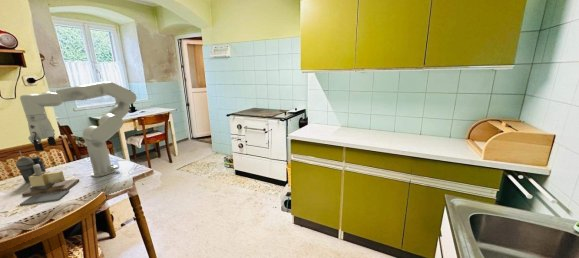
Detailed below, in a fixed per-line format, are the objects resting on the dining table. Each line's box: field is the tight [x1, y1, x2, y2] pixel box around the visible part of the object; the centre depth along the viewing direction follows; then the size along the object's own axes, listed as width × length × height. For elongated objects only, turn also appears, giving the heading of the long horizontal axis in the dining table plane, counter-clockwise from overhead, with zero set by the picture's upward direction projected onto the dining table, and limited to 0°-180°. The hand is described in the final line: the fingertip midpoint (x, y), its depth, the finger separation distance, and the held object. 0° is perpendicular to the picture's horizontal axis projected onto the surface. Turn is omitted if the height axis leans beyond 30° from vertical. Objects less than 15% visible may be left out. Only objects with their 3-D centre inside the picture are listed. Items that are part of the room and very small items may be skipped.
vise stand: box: [21, 164, 80, 197], centre depth 132 cm, size 20×12×15 cm, turn 106°
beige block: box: [28, 170, 66, 187], centre depth 132 cm, size 13×6×6 cm, turn 106°
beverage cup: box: [15, 150, 35, 184], centre depth 140 cm, size 7×7×20 cm
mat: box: [19, 190, 70, 206], centre depth 123 cm, size 16×9×1 cm, turn 106°
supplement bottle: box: [30, 156, 47, 172], centre depth 150 cm, size 7×7×12 cm
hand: (46, 147), depth 128 cm, fingers open, 9 cm apart
